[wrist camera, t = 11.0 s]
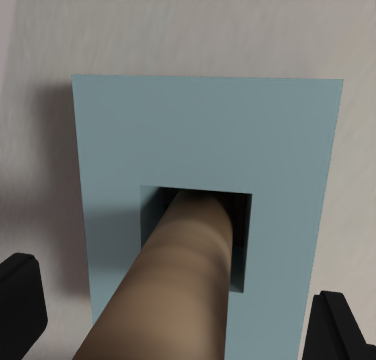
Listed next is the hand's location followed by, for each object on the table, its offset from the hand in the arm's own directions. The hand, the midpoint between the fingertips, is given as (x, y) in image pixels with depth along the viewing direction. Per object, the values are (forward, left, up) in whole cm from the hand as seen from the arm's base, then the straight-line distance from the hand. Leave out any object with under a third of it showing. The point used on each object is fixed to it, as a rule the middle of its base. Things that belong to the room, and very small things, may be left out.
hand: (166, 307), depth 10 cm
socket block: (+1, 0, -11) cm, 11 cm away
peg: (+1, 0, -11) cm, 11 cm away
